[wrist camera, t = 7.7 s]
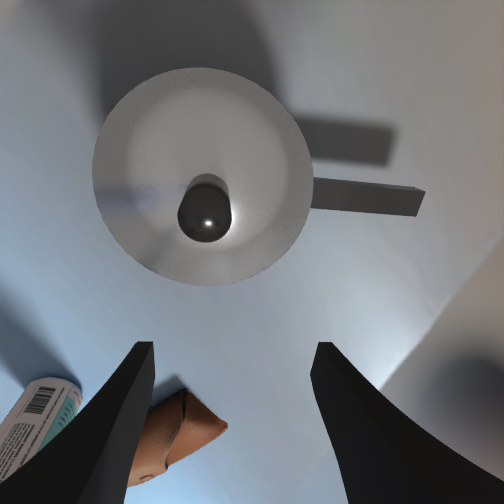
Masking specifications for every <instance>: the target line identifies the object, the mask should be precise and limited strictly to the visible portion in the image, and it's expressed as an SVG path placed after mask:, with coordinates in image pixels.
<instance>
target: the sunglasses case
mask: <svg viewBox="0 0 504 504" xmlns="http://www.w3.org/2000/svg"><path fill="white" fill-rule="evenodd" d="M186 390H187V388H186V389H185V390H183V391H181V392H178V393H176V394H174V395H172V396H171V397H170V398H168V399H166V400H164V401H163V402H161V403H160V404H159V405H157V406H156V407H154V408H152V409H151V410H149V411H148V413H147V416H146V419H145V423H144V426H143V429H142V433H141V436H140V440H139V443H138V446H137V450H136V453H135V456H134V460H133V463H132V467H131V471H130V475H129V480H128V484H127V488H128V487H131V486H135V485H139V484H142V483H144V482H146V481H149V480H150V479H152V478H154V477H156V476H158V475H160V474H162V473H164V472H166V471H167V469H168V466H169V465H171V464H173V463H175V462H177V461H179V460H181V459H183V458H185V457H186V456H188V455H190V454H192V453H193V452H195V451H197V450H198V449H200V448H202V447H203V446H205V445H206V444H208V443H209V442H211V441H213V440H214V439H216V438H217V437H218V436H220V435H221V434H222V433H223V432H225V430H226V429H227V428H228V425H227V422H225V421H223V420H221V419H220V418H218V417H217V416H216V415H215V414H214V413H213V412H211V411H210V410H209V409H208V408H207V407H206V406H204V405H203V404H202V403H201V402H200V401H199V400H197V399H196V398H195V397H194V396H193V395H191V394H190V393H189V392H187V391H186Z"/></svg>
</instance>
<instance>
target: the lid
mask: <svg viewBox="0 0 504 504" xmlns="http://www.w3.org/2000/svg"><path fill="white" fill-rule="evenodd" d="M92 179H93V188H94V193H95V197H96V201H97V205H98V208H99V210H100V213H101V216H102V218H103V220H104V222H105V224H106V226H107V227H108V229H109V231H110V232H111V234H112V235H113V237H114V238H115V239H116V241H117V242H118V243H119V244H120V246H121V247H122V248H123V249H124V250H125V251H126V252H127V253H128V254H129V255H130V256H131V257H133V258H134V259H135V260H136V261H137V262H139V263H140V264H142V265H143V266H144V267H146V268H147V269H149V270H151V271H153V272H155V273H157V274H158V275H160V276H163V277H165V278H168V279H170V280H174V281H177V282H181V283H185V284H191V285H199V286H217V285H225V284H231V283H235V282H239V281H242V280H245V279H247V278H250V277H252V276H255V275H257V274H258V273H260V272H262V271H264V270H266V269H267V268H268V267H270V266H271V265H273V264H274V263H275V262H276V261H278V260H279V259H280V258H281V257H282V256H283V255H284V254H285V253H286V252H287V251H288V250H289V248H290V247H291V246H292V245H293V243H294V242H295V240H296V239H297V237H298V236H299V234H300V232H301V230H302V228H303V226H304V224H305V222H306V219H307V216H308V214H309V211H310V206H311V202H312V195H313V168H312V162H311V157H310V153H309V150H308V147H307V143H306V141H305V139H304V137H303V134H302V132H301V130H300V128H299V127H298V125H297V123H296V122H295V120H294V119H293V117H292V116H291V114H290V113H289V112H288V111H287V110H286V108H285V107H284V106H283V105H282V104H281V103H280V102H279V101H278V100H277V99H276V98H275V97H274V96H273V95H272V94H271V93H269V92H268V91H266V90H265V89H263V88H262V87H261V86H259V85H258V84H256V83H254V82H252V81H250V80H248V79H246V78H244V77H242V76H240V75H237V74H234V73H231V72H227V71H224V70H218V69H212V68H183V69H176V70H172V71H168V72H165V73H162V74H159V75H156V76H154V77H152V78H150V79H148V80H146V81H144V82H142V83H141V84H139V85H138V86H136V87H135V88H134V89H132V90H131V91H129V92H128V93H127V94H126V95H125V96H124V97H123V98H122V99H121V100H120V101H119V102H118V103H117V104H116V106H115V107H114V108H113V110H112V111H111V112H110V114H109V115H108V117H107V119H106V120H105V122H104V124H103V126H102V128H101V130H100V133H99V136H98V139H97V142H96V145H95V150H94V156H93V165H92Z"/></svg>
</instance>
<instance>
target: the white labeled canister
mask: <svg viewBox="0 0 504 504" xmlns="http://www.w3.org/2000/svg"><path fill="white" fill-rule="evenodd" d="M82 399H83V397H82V393H81V391H80V389H79V388H78V387H77V386H76V385H75V384H73V383H71V382H70V381H68V380H65V379H61V378H56V377H45V378H39V379H36V380H34V381H32V382H30V383H29V384H28V385H27V386H26V388H25V390H24V392H23V394H22V395H21V396H20V398H19V399H18V401H17V402H16V404H15V405H14V406H13V408H12V409H11V411H10V412H9V414H8V415H7V416H6V418H5V419H4V421H3V422H2V424H1V425H0V483H2V482H3V481H4V480H5V479H6V478H8V477H9V476H10V475H11V474H13V473H14V472H15V471H16V470H17V469H19V468H20V467H21V466H22V465H23V464H25V463H26V462H27V461H28V460H29V459H31V458H32V457H33V456H34V455H35V454H36V453H37V452H39V451H40V450H41V449H42V448H43V447H44V446H45V445H46V444H47V443H48V442H50V441H51V440H52V439H53V438H54V437H55V436H56V435H57V434H58V433H59V432H60V431H61V430H62V429H63V428H64V427H65V426H66V425H67V424H68V423H69V422H70V421H71V420H72V419H73V418H74V417H75V415H76V413H77V411H78V409H79V407H80V405H81V403H82Z"/></svg>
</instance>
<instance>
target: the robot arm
mask: <svg viewBox="0 0 504 504" xmlns="http://www.w3.org/2000/svg"><path fill="white" fill-rule="evenodd" d="M310 377H311V382H312V386H313V390H314V394H315V398H316V401H317V404H318V407H319V410H320V413H321V415H322V418H323V421H324V424H325V427H326V429H327V432H328V435H329V438H330V440H331V443H332V446H333V449H334V451H335V455H336V458H337V461H338V464H339V468H340V471H341V476H342V479H343V483H344V487H345V491H346V495H347V499H348V503H349V504H504V481H502V480H500V479H499V478H497V477H495V476H494V475H492V474H490V473H488V472H486V471H485V470H483V469H482V468H480V467H478V466H477V465H475V464H473V463H472V462H470V461H469V460H467V459H466V458H464V457H463V456H461V455H460V454H458V453H456V452H455V451H453V450H452V449H450V448H449V447H448V446H446V445H445V444H443V443H442V442H440V441H439V440H438V439H436V438H435V437H433V436H432V435H431V434H429V433H428V432H427V431H425V430H424V429H423V428H421V427H420V426H419V425H417V424H416V423H415V422H414V421H412V420H411V419H410V418H409V417H408V416H406V415H405V414H404V413H403V412H402V411H400V410H399V409H398V408H397V407H395V406H394V405H393V404H392V403H391V402H390V401H389V400H388V399H387V398H386V397H385V396H383V395H382V394H381V393H380V392H379V391H378V390H377V389H376V388H375V387H374V386H373V385H372V384H371V383H370V382H369V381H368V380H367V379H366V378H365V377H364V376H363V375H362V374H361V373H360V372H359V371H358V370H357V369H356V368H355V367H354V366H353V365H352V364H351V362H350V361H349V360H348V359H347V358H346V357H345V356H344V355H343V354H342V353H341V352H340V351H339V350H338V348H337V347H336V346H335V345H334V344H333V343H332V342H319V343H318V346H317V350H316V354H315V358H314V361H313V365H312V369H311V372H310ZM154 381H155V364H154V348H153V342H139V341H138V342H137V343H135V345H134V346H133V348H132V349H131V350H130V352H129V353H128V355H127V356H126V357H125V359H124V360H123V362H122V363H121V364H120V365H119V367H118V368H117V369H116V371H115V372H114V373H113V374H112V376H111V377H110V378H109V379H108V381H107V382H106V383H105V384H104V385H103V387H102V388H101V389H100V390H99V391H98V392H97V393H96V395H95V396H94V397H93V398H92V399H91V400H90V401H89V402H88V404H87V405H86V406H85V407H84V408H83V409H82V410H81V411H80V412H79V413H78V414H77V415H76V416H75V417H74V418H73V419H72V420H71V421H70V422H69V423H68V424H67V425H66V426H65V427H64V428H63V429H62V430H61V431H60V432H59V433H58V434H57V435H56V436H55V437H54V438H53V439H52V440H51V441H50V442H48V443H47V444H46V445H45V446H44V447H43V448H42V449H41V450H40V451H39V452H37V453H36V454H35V455H34V456H33V457H32V458H31V459H29V460H28V461H27V462H26V463H25V464H23V465H22V466H21V467H20V468H19V469H17V470H16V471H15V472H14V473H13V474H11V475H10V476H9V477H8V478H6V479H5V480H4V481H3V482H2V483H0V504H123V503H124V499H125V494H126V489H127V484H128V480H129V475H130V471H131V467H132V463H133V460H134V456H135V453H136V450H137V446H138V443H139V440H140V436H141V433H142V429H143V426H144V423H145V419H146V416H147V413H148V409H149V406H150V402H151V397H152V392H153V387H154Z"/></svg>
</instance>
